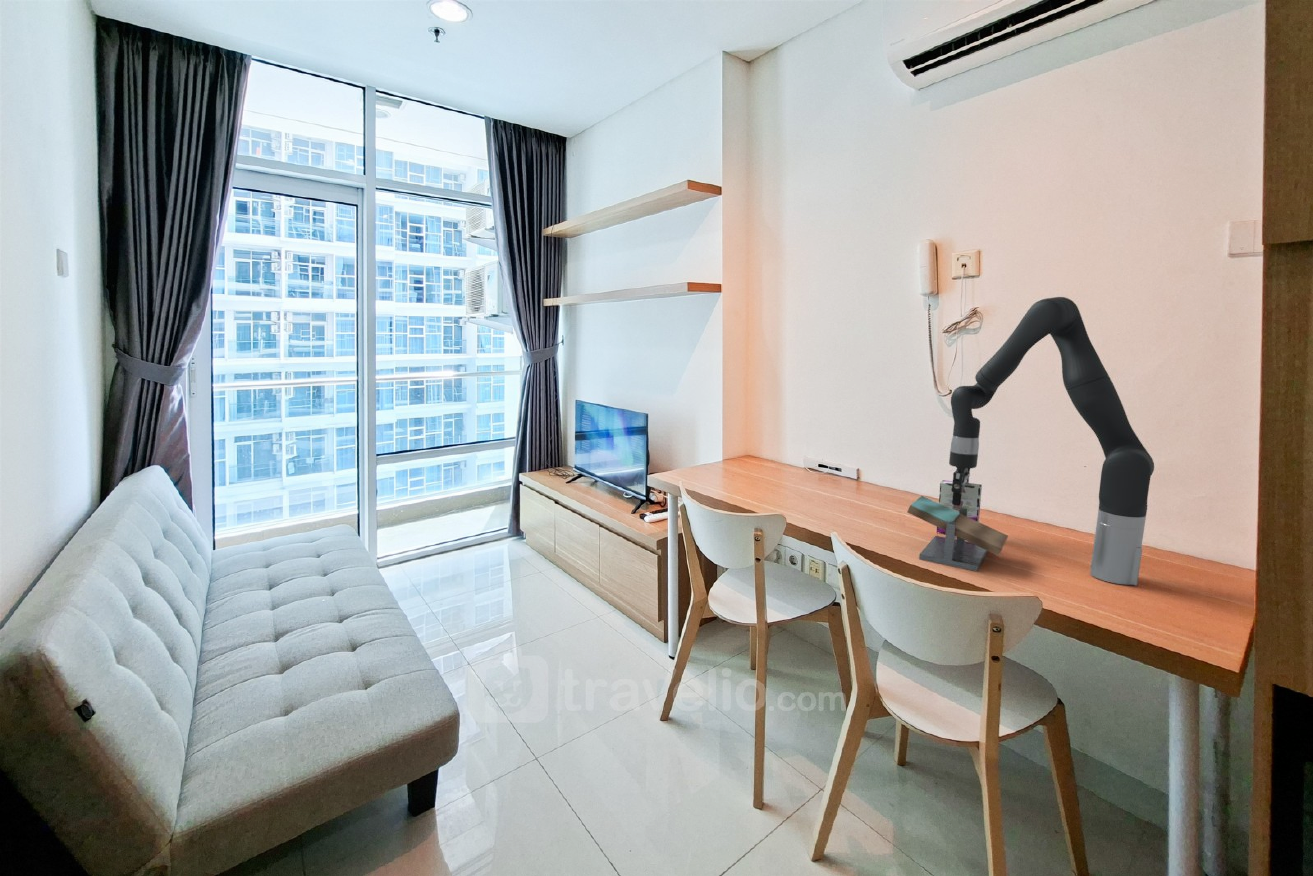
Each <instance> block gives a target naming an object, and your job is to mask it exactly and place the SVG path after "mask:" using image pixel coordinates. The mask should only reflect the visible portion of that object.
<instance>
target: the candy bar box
mask: <svg viewBox="0 0 1313 876" xmlns="http://www.w3.org/2000/svg"><path fill="white" fill-rule="evenodd" d="M952 483H953V480H946V479H945V480H942V481H941V482H940V484H939V494H938V495H939V498H938V503H939V504H941V505H943V506H945V507H948V508H950V509H952V510H954V511H956V512H959V508H960V507H964V508H968V518H971V519H973V520H975V521H977V522H979V523H980V514H981V513H980V511H981V501H982V489H983V484H979V483H972V482H969V483H966V485H965V488H963V490H962V491H963V492H962V495H961V504H960V505H959V506H957V505H953V504H952V499H953V492H952V491H951V489H952ZM956 488H957V489H959V487H956ZM937 532H939V533H938V534H942V533H944V534H943V535H946V531H945V530H943V529H941V528H939V527H937V526H936V533H937ZM955 537H957V536H956V535H955Z"/></svg>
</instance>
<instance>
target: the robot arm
mask: <svg viewBox="0 0 1313 876" xmlns="http://www.w3.org/2000/svg"><path fill="white" fill-rule="evenodd" d="M1048 335H1050V336H1051V337H1052V339H1053V341H1054V344H1055V345H1056V347H1057V349H1058V351H1059V355H1060V358H1061V359H1060V360H1061V375H1062V381H1063V385H1064V388H1065V391H1066V392H1067V395H1068V396H1069V399H1070V400H1071V402H1072V404H1073V407H1074V408H1075V410H1076V411H1077V412H1078V414H1079V415H1080V416H1081V418H1082V419H1083V420H1084V421H1085V422H1086V424H1087V425H1088V426H1089V428H1090V429H1091V430H1092V431H1093V433H1094V435H1095V437H1096V438H1097V440H1098V442H1099V445H1100V446H1101V449H1102V451H1103V452H1102V453H1103V454H1104V457H1105V459H1104V460H1103V464H1102V467H1101V471H1100V482H1099V492H1098V511H1097V518H1096V526H1095V533H1094V541H1093V548H1092V556H1091V562H1090V570H1089V574H1090V575H1091V576H1092V577H1094V578H1096V579H1099V580H1101V581H1104V582H1107V583H1112V584H1117V585H1127V586H1129V585H1130V586H1138V581H1139V576H1140V574H1139V573H1140V567H1141V561H1142V554H1143V547H1142V546H1143V539H1144V534H1145V533H1144V532H1145V525H1146V518H1147V512H1148V496H1149V491H1150V484H1151V477H1152V475H1153V473H1154V470H1155V462H1154V459H1153V458H1152V456H1151V455H1150V453H1149V452H1148V450H1147V449H1146V447H1145V446H1144V444H1143V443H1142V441H1141V440H1140V439H1139V437H1138V436H1137V434H1136V432H1135V431H1134V429H1133V428H1132V426H1131V424H1130V421H1129V419H1128V415H1127V413H1126V410H1125V408H1124V405H1123V403H1122V401H1121V398H1120V396H1119V394H1118V391H1117V389H1116V387H1115V385H1114V383H1113V381H1112V379H1111V377H1110V375H1109V373H1108V372H1107V370H1106V368H1105V367H1104V364H1103V362H1102V360H1101V359H1100V357H1099V354H1098V353H1097V350H1096V349H1095V348H1094V345H1093V344H1092V341H1091V339H1090V337H1089V334H1088V332H1087V329H1086V326H1085V323H1084V320H1083V317H1082V315H1081V312H1080V309H1079V307H1078V306H1077V304H1076V303H1075V302H1074V301H1073V300H1072V299H1070V298H1068V297H1066V296H1065V297H1064V296H1056V297H1048V298H1044V299H1041V300H1037V301H1036V302H1035V303H1033V304H1031V306H1030V308H1029V309H1028V310H1027V311H1026V313H1025V314H1024V316H1023V317H1022V318H1021V320H1020V322H1019V323H1018V325H1017V326H1016V328H1014V330H1013V331H1012V333H1011V334H1010V335H1009V337H1008V338H1007V340H1005V342H1004V343H1003V344H1002V345H1001V347H999V349H998V350H997V351H996V352H995V353H994V354H993V355H992V356H991V357H990V358H989V359H988V361H986V363H985V364H984V365H983V366H982V367H980V368H979V370H978V371H977V372H976V374H975V377H974V379H975V382H976V383H975V384H974V385H960V386H957V387H956V388H955V389H954V390H953V392H952V394H951V397H950V407H951V412H952V418H953V430H952V431H953V433H952V439H951V443H950V449H949V450H950V451H949V458H948V459H949V461H948V464H949V466H951V467H954V468H956V470H955V471H954V472H953V473H952V475H953V476H952V481H953V483H952V489H951V491H952V492H953V499H952V504H953V505H957V506H959V505H960V504H961V495H962V492H963V491H962V490H963V488H965V485H966V483H970V476H971V473H970V472H971V469H975V468H977V466H978V458H979V449H980V441H979V440H980V431H981V421H980V419H979V418H977V417H975V416H974V415H973V410H977V409H982V408H983V407H985V406H987V405H988V404H989V403H990V402H991V400H992V399H993V397H994V395H995V394H996V392H997V391H998V388H999V387H1000V386H1001V385H1002V384H1003V383H1004V382H1005V381H1006V380H1007V379H1009V377H1010V376H1011V375H1012V374H1013V373H1014V372H1015V371H1016V370H1017V368H1018V367H1019V366H1020V364H1021V362H1022V361H1023V359H1024V357H1025V355H1026V354H1027V353H1028V352H1029V350H1030V349H1032V347H1033V346H1035V345H1036V344H1037V343H1038V342H1040V341H1041V340H1042V339H1044V338H1045V337H1046V336H1048ZM956 487H959V489H957V488H956Z"/></svg>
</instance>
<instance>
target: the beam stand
mask: <svg viewBox="0 0 1313 876" xmlns="http://www.w3.org/2000/svg"><path fill="white" fill-rule="evenodd" d="M959 513H960V514H962V515H964V516H966V517H968V508H964V507H960V508H959ZM956 524H957V523H956V522H950V521H948V522H947V527H946V534H945V536H940V535H935V536H933V538H932V539H931V540H930V541H929V542H928V544H927V545H925V547H924V549H922V551H920V553H919V555H918V556H919V557H918V560H922V561H926V562H931V563H935V564H941V565H945V566H949V567H954V568H958V569H964V570H968V571H971V572H972V571H973V572H978V570H979V568H980V566H981V564H982V563H983V561H984V559H985V557H986V556H987V554H988V552H989V551H987V550H985V549H983V548H981V547H979V546H977V545H974V544H972V543H970V542H968V541H966V540H964V539H962V538H960V537H958V536H955V535H956Z"/></svg>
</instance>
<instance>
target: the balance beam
mask: <svg viewBox="0 0 1313 876" xmlns="http://www.w3.org/2000/svg"><path fill="white" fill-rule="evenodd" d="M907 513H908V514H910V515H912V516H913V517H916V518H917V519H920V520H922V521H925V522H927V523H928V524H931V525H932V526H935V527H936V528H937V527H939V528H941V529H943V530H945V531H946V527H947V522H948V521H950V522H956V523H957V524H956V536H955V537H957V536H958V537H960V538H962V539H964V540H965V541H967V542H970V543H972V544H974V545H977V546H979V547H981V548H983V549H985V550H987V551H988V552H990V553H992V554H993V555H995V556H1000V554H1001V552H1002V550H1003V547H1004V545H1005V543H1006V542H1007V539H1008V538H1009V535H1007V534H1005V533H1004V532H1001V531H999V530H997V529H995V528H992V527H990V526H989V525H985V524H983V523H981V522H980V521H979V522H977V521H975V520H973V519H971V518H968V517H966V516H964V515H962V514H960V513H959V512H956V511H954V510H952V509H950V508H948V507H945V506H943V505H941V504H939V502H936V501H935V500H932V499H930V498H928V497H926V496H923V495H921V496H920V497H918V498H917V499H915V501H913V503H911V504H910V505H909V507H908V510H907Z"/></svg>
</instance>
